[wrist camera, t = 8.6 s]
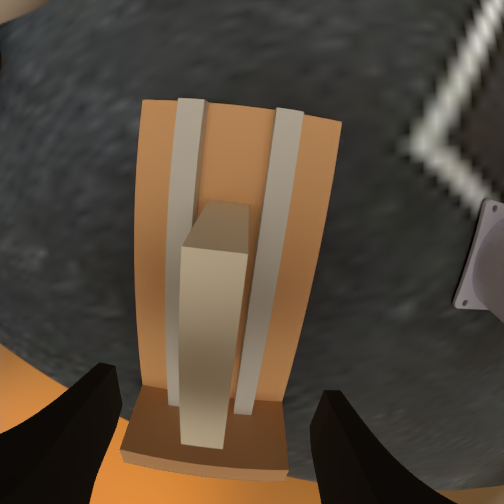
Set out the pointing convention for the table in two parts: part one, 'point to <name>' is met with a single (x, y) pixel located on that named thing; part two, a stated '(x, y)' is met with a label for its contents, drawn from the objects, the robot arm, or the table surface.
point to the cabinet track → (256, 278)
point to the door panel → (210, 318)
